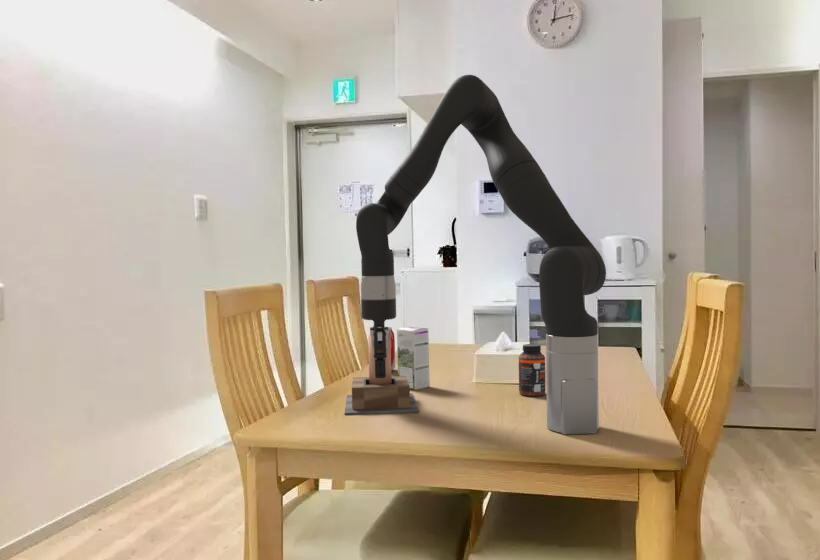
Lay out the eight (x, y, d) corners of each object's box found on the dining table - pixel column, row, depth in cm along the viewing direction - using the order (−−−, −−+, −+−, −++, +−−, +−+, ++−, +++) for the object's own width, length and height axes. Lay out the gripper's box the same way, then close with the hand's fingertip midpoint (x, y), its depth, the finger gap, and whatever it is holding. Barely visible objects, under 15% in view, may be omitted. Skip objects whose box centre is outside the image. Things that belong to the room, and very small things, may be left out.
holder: (418, 412, 143) (417, 388, 142) (344, 414, 142) (344, 390, 141) (412, 394, 161) (412, 373, 160) (347, 396, 160) (346, 375, 159)
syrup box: (430, 386, 170) (429, 327, 169) (414, 390, 165) (413, 329, 165) (413, 384, 174) (412, 325, 173) (397, 387, 169) (395, 328, 169)
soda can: (400, 369, 195) (399, 327, 195) (386, 373, 189) (385, 329, 189) (379, 368, 199) (378, 326, 199) (364, 371, 193) (363, 328, 193)
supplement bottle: (545, 397, 155) (544, 346, 154) (518, 396, 156) (517, 346, 156) (545, 392, 161) (545, 343, 160) (519, 391, 162) (518, 342, 161)
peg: (392, 392, 149) (390, 336, 148) (369, 393, 148) (368, 337, 148) (391, 388, 154) (390, 334, 153) (369, 389, 153) (368, 334, 153)
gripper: (397, 298, 143) (399, 381, 144) (394, 294, 158) (396, 369, 158) (360, 299, 143) (362, 382, 143) (361, 295, 157) (362, 370, 158)
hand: (380, 375), depth 151 cm, fingers closed on peg, 4 cm apart
